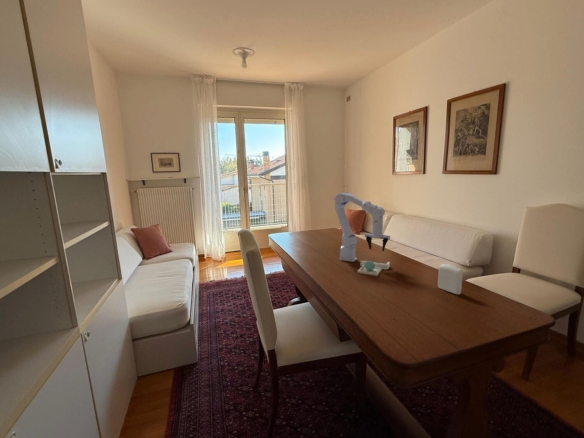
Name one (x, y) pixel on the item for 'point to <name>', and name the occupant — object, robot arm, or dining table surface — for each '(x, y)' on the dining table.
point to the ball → (369, 265)
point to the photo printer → (450, 278)
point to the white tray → (373, 272)
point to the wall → (377, 265)
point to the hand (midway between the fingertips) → (376, 249)
